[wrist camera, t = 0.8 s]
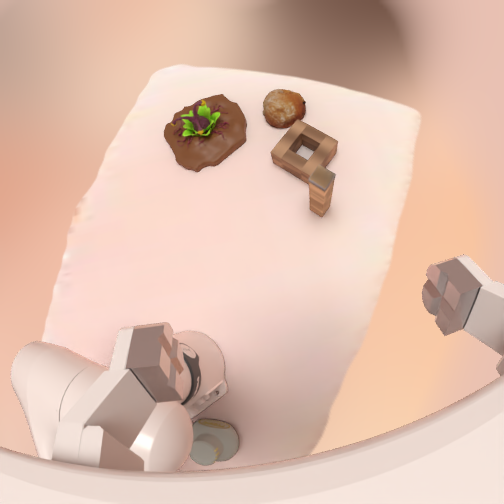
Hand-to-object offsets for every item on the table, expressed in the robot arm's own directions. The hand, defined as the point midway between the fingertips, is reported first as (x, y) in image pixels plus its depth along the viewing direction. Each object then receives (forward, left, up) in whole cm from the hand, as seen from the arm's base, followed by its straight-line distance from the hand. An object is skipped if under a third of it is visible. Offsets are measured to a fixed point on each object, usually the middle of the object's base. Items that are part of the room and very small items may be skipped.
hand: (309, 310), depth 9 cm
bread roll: (+33, +30, -52) cm, 68 cm away
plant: (+19, +43, -52) cm, 70 cm away
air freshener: (-35, -2, -52) cm, 62 cm away
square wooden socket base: (+25, +19, -51) cm, 60 cm away
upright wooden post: (+17, +10, -51) cm, 55 cm away
